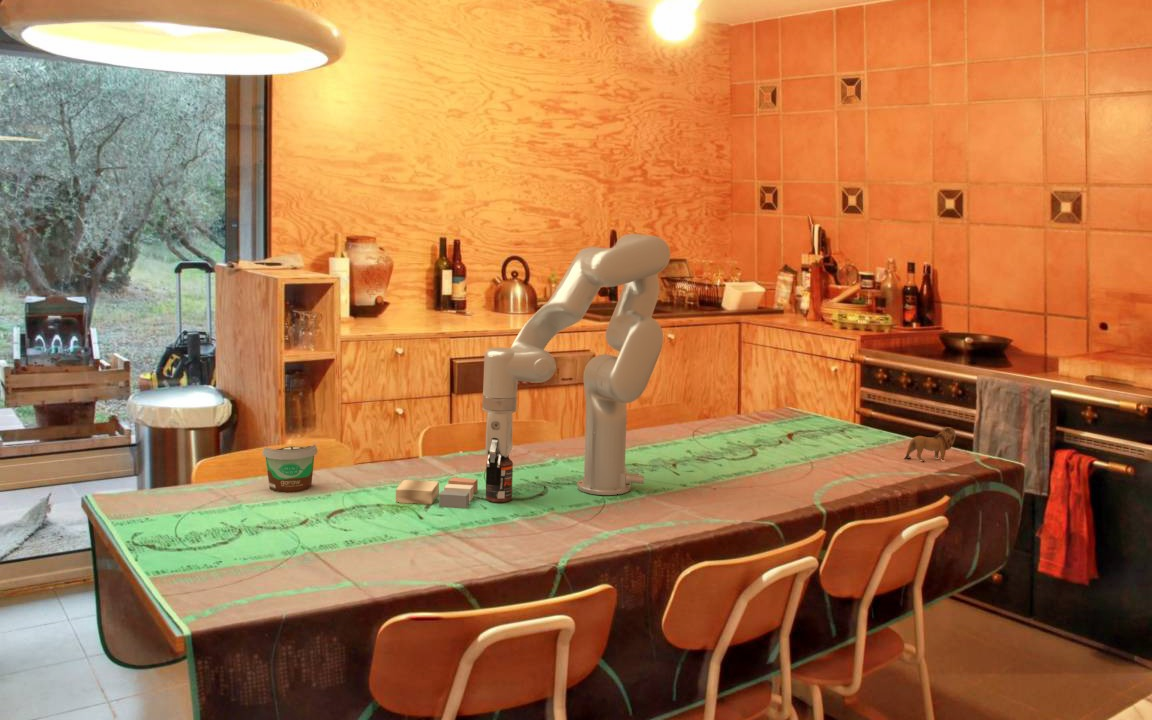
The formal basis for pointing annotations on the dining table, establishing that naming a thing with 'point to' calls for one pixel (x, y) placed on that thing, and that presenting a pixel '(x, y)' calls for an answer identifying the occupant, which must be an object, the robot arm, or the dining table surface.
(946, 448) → the lion figurine
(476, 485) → the brick terracotta
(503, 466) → the supplement bottle
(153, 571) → the dining table surface
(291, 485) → the food container
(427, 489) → the oak slab
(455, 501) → the brick slate
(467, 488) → the brick cream
